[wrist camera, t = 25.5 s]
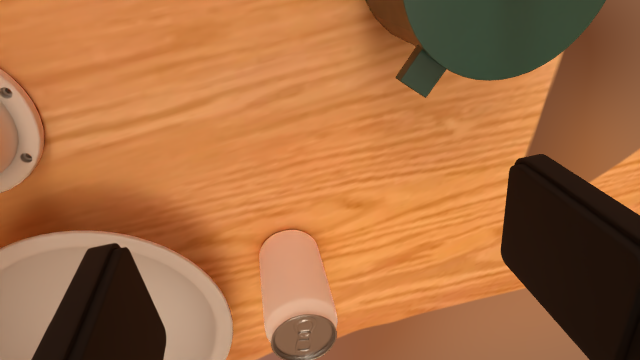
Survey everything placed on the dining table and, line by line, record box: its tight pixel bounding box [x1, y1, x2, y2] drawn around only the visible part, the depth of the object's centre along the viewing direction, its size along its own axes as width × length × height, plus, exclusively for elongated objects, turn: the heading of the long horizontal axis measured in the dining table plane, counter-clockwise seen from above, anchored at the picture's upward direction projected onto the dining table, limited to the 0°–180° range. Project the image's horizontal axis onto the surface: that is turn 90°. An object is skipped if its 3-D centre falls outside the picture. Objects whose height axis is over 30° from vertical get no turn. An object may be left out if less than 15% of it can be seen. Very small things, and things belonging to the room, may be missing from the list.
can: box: [259, 230, 337, 360], centre depth 40 cm, size 6×6×12 cm
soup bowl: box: [0, 230, 233, 360], centre depth 41 cm, size 24×24×7 cm
